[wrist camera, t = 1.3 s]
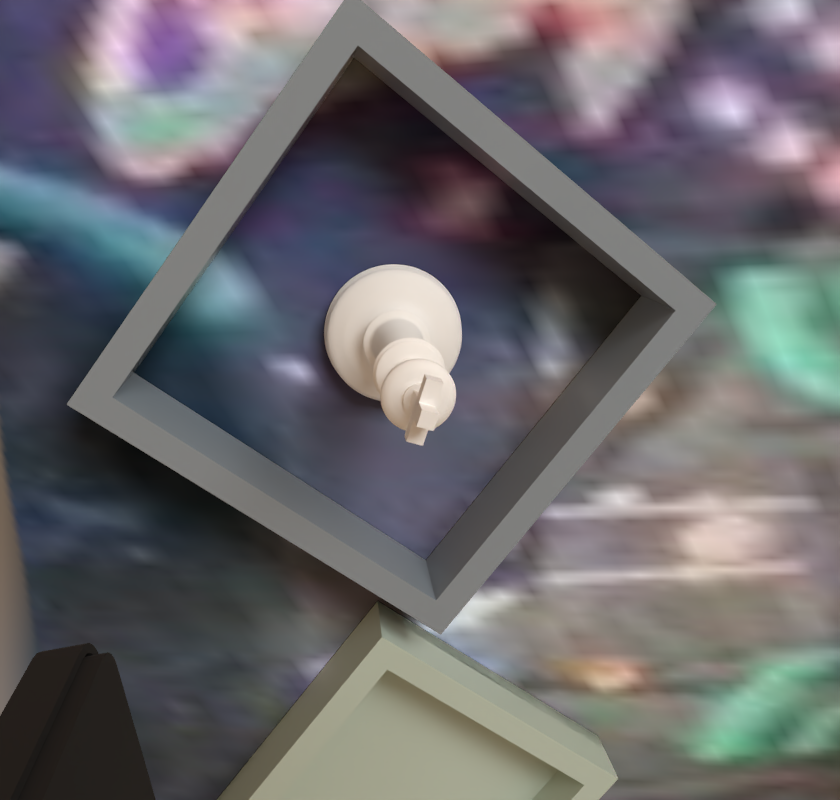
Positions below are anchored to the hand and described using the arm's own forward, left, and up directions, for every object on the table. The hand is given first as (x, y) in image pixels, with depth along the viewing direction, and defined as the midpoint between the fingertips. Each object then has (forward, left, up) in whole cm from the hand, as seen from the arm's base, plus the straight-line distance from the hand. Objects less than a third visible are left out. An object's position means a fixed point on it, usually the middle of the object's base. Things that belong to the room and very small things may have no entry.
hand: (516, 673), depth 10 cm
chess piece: (0, 0, -20) cm, 20 cm away
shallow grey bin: (0, 0, -20) cm, 20 cm away
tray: (-12, +17, -20) cm, 29 cm away
